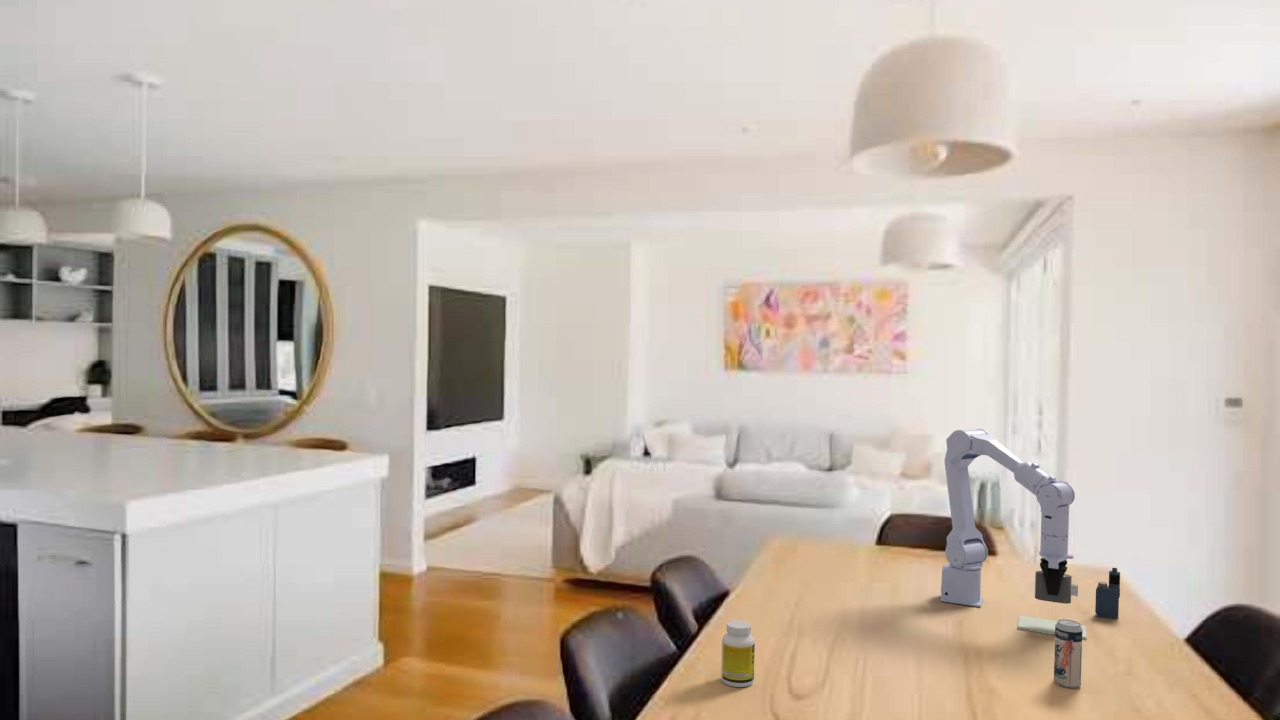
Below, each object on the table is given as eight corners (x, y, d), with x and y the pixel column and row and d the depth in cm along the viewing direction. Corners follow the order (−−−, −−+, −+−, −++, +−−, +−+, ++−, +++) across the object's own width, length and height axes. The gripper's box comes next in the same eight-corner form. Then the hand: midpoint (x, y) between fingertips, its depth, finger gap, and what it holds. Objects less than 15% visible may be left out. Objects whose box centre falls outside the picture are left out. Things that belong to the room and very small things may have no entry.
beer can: (1048, 679, 162) (1050, 618, 161) (1071, 679, 162) (1073, 618, 162) (1062, 689, 157) (1064, 627, 157) (1086, 689, 157) (1088, 626, 157)
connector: (1034, 599, 192) (1035, 573, 192) (1035, 595, 195) (1035, 570, 195) (1077, 605, 188) (1078, 579, 188) (1077, 601, 191) (1078, 575, 191)
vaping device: (1120, 619, 200) (1122, 569, 200) (1097, 617, 201) (1098, 568, 201) (1117, 615, 202) (1118, 567, 202) (1093, 614, 203) (1095, 565, 203)
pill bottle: (758, 687, 155) (760, 628, 155) (727, 689, 154) (728, 630, 153) (747, 674, 161) (748, 618, 161) (717, 676, 160) (718, 619, 159)
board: (1017, 628, 191) (1017, 626, 191) (1019, 617, 199) (1019, 615, 199) (1086, 639, 185) (1086, 637, 185) (1085, 628, 193) (1085, 625, 193)
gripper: (1074, 542, 183) (1072, 603, 184) (1073, 530, 196) (1071, 587, 196) (1039, 538, 186) (1037, 598, 187) (1040, 526, 199) (1038, 582, 200)
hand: (1052, 592), depth 192 cm, fingers closed on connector, 3 cm apart
